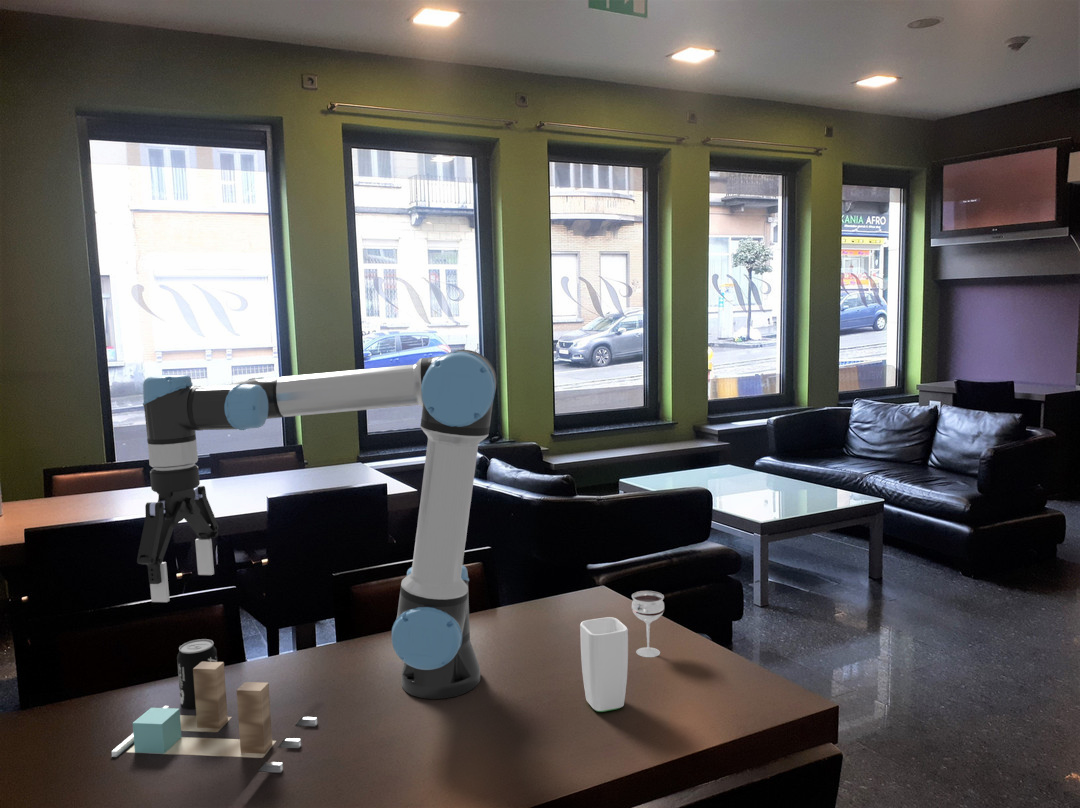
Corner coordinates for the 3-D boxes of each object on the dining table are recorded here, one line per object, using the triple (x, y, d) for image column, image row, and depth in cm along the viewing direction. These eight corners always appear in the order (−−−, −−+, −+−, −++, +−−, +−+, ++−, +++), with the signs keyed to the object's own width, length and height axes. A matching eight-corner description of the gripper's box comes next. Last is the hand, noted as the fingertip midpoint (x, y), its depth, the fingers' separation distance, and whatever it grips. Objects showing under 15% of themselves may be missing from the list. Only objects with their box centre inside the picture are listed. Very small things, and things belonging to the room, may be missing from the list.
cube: (181, 737, 131) (179, 708, 130) (164, 753, 126) (161, 724, 125) (153, 736, 131) (151, 707, 131) (134, 752, 126) (132, 723, 126)
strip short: (232, 723, 137) (228, 659, 136) (217, 738, 132) (213, 672, 131) (167, 721, 139) (162, 657, 137) (150, 736, 134) (145, 670, 132)
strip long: (277, 747, 129) (272, 679, 128) (263, 764, 124) (258, 694, 123) (145, 742, 132) (140, 675, 130) (126, 759, 127) (120, 689, 125)
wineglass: (641, 642, 168) (641, 588, 167) (670, 650, 164) (670, 594, 163) (625, 654, 163) (625, 598, 161) (655, 662, 159) (654, 604, 157)
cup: (631, 711, 139) (631, 630, 138) (593, 718, 137) (592, 636, 135) (615, 692, 146) (614, 615, 144) (578, 699, 144) (577, 621, 142)
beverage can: (205, 718, 140) (201, 654, 138) (173, 715, 141) (168, 651, 140) (227, 701, 146) (223, 639, 145) (196, 698, 147) (191, 637, 146)
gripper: (194, 453, 146) (204, 564, 148) (104, 481, 122) (116, 613, 124) (232, 453, 145) (241, 564, 147) (148, 481, 121) (160, 614, 123)
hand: (184, 587), depth 136 cm, fingers open, 13 cm apart
